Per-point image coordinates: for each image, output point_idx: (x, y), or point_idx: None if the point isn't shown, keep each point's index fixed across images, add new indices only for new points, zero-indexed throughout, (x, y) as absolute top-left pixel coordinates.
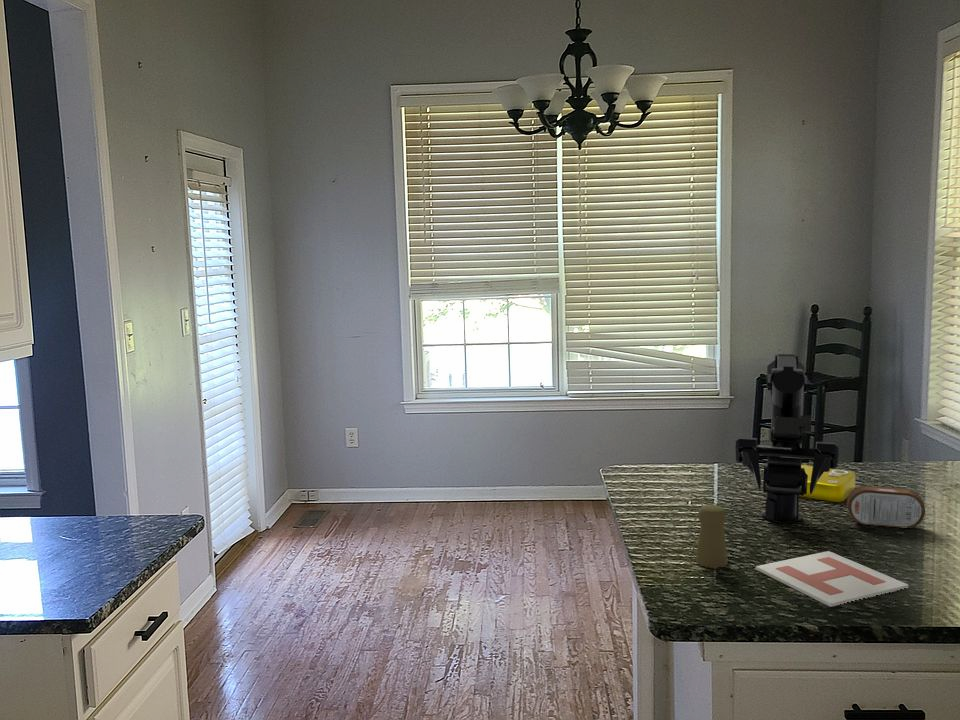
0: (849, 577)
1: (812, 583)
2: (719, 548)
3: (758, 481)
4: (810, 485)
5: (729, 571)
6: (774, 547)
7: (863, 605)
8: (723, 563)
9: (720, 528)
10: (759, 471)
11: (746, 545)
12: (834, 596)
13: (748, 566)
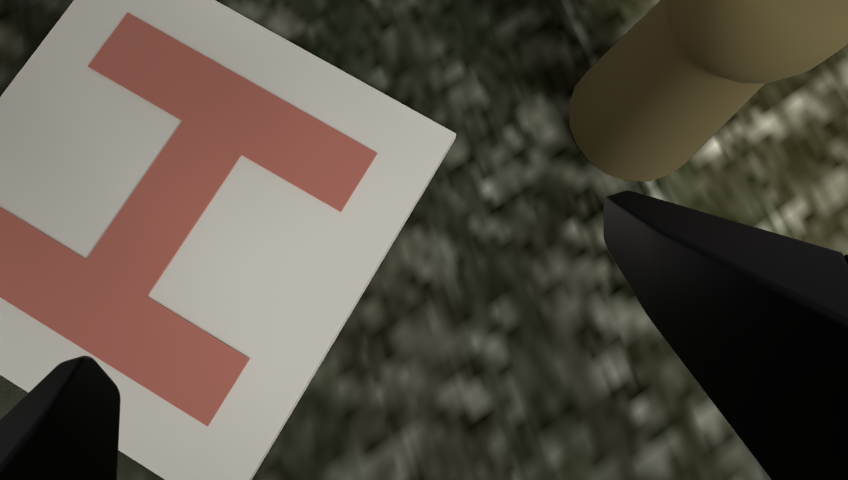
0: (88, 227)
1: (208, 78)
2: (616, 45)
3: (666, 208)
4: (50, 401)
5: (534, 64)
6: (476, 453)
7: (21, 28)
8: (577, 90)
9: (665, 6)
10: (763, 279)
11: (595, 402)
12: (113, 9)
13: (491, 155)
